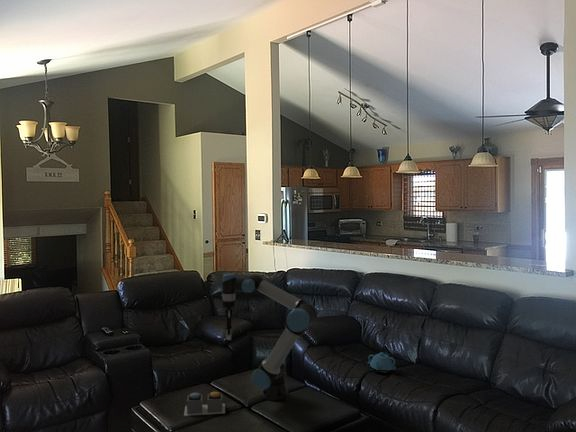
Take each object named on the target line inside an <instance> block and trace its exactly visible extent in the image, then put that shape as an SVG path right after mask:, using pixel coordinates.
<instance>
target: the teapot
mask: <svg viewBox="0 0 576 432" xmlns="http://www.w3.org/2000/svg"><path fill="white" fill-rule="evenodd" d="M371 357H372V358H371ZM395 363H396V359H395V358H394V357H390V356H389V355H388V354H386V353H384V352H379V353H376V354H375V355H374V354H370V355H368V362H367V363H366V364H370V366H371V367H372V368H374V369H376V370H392V371H396V370H397V367H396V364H395ZM370 366H369V367H370Z"/></svg>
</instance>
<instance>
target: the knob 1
mask: <svg viewBox="0 0 576 432" xmlns="http://www.w3.org/2000/svg"><path fill="white" fill-rule="evenodd" d="M189 395H190V398H191V400H199V397H200V392H192V393H190V394H189Z"/></svg>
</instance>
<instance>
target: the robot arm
mask: <svg viewBox="0 0 576 432" xmlns="http://www.w3.org/2000/svg"><path fill="white" fill-rule="evenodd" d="M221 283H222V294H221V297H222V308H225V318H226V325H225V326H226V327H225V330H226V332H225V333H226V341H232V329H233V326H232V318H233V309H232V308H235V307H236V292H240V293H241V292H243V293H252V292H253V291H254V290H256V291H257V292H259V293H261V294H263V295H265V296H266V297H268V298H269V299H271V300H274V301H275V302H277V303H278V304H280V305H282V306H284V307H286V308H287V309H289V310H291V311H289V313H288V314H287V316H286V321H285V323H284V325H285V326H284V327H285V329H284V330H283V332H282V333H281V335H280V337H279V338H278V340H277V342H276V344H275V345H274V346H273V349H272V350H271V352H270V353H269V355H268V356H267V357H265V359H263V360H262V361H261V363H260V365H259V366H258V368H257V369H255V370H254V371H253V372H252V375H251V380H252V384H253V385H254V386H255V387H256V388H257V389H259V390H263V391H262V397H263V398H264V399H265V400H268V401H275V402H276V401H278V400H279V401H283V400H286V399H287V398H288V397H289V390H288V388H287V384H286V358H287V356H288V355H289V354H290V351H291V349H292V348H293V347H294V345H295V343H296V342H297V340H298V338H299V337H303V336H304V334H305V333H306V331H307V330H308V328H309V327H310V326H311V325H313V324H314V323H315V322H316V320H317V318H318V311H317V309H316V307H315V306H314V305H313V304H312V303H311V302H309V301H307V300H305V299H303V298H298V297H296V296H294V295H292V294H291V293H289V292H287V291H285V290H284V289H282V288H279V287H278V286H276V285H274V284H272V283H271V282H269V281H267V280H265V279H264V277H263V276H262V275H261V274H258V273H257V274H252V275H250V276H247V277H243V278H242V277H236V274H235V273H231V272H229V273H224V274H223V275H222V280H221ZM285 398H286V399H285Z"/></svg>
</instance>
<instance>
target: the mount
mask: <svg viewBox="0 0 576 432" xmlns="http://www.w3.org/2000/svg"><path fill="white" fill-rule="evenodd" d="M219 393H220V396H219V399H211V397H210V393H207V404H203V394H202V393H201V394H200V393H199V394H200V397H199V400H191V398H190V394H187V397H186V398H187V399H186V405H185V406H184V411H183V412H184V413H183V416H184V417H186V416H187V417H188V416H200V415H204V416H205V415H219V414H226V404H225V403H223V393H221V392H219Z"/></svg>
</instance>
